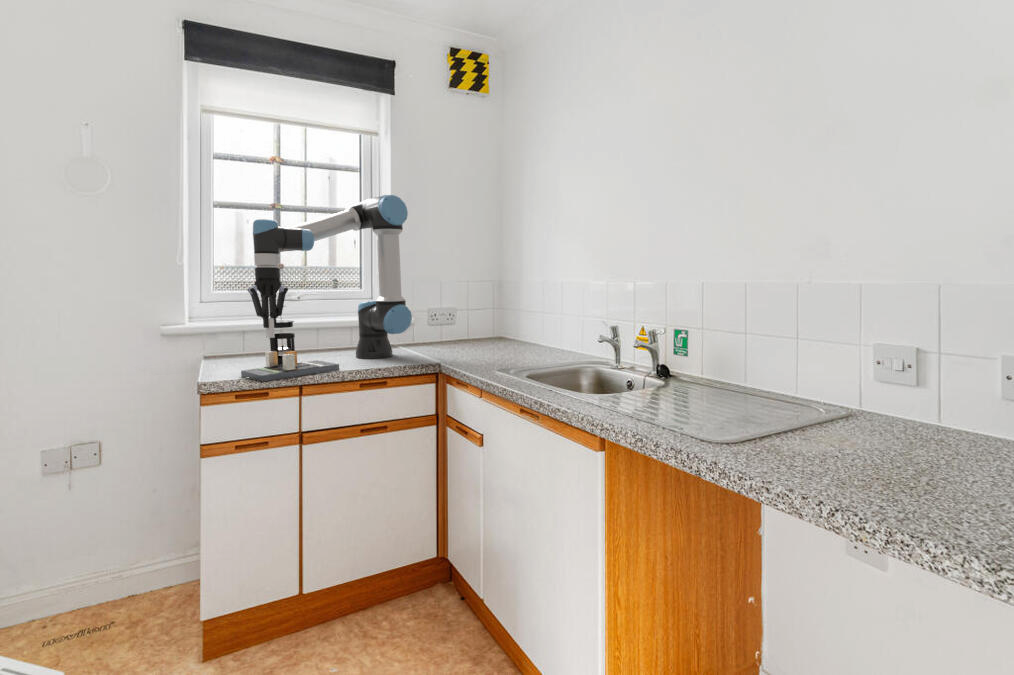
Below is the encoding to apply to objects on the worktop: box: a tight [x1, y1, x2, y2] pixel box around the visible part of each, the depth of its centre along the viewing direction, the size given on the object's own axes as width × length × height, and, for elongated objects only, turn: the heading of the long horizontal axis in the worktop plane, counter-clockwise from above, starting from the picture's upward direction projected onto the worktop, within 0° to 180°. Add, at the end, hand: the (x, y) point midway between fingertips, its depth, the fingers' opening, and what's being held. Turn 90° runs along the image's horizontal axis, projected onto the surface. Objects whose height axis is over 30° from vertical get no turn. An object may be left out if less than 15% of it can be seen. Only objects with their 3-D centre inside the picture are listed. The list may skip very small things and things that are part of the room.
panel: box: [240, 350, 340, 383], centre depth 184 cm, size 28×15×8 cm, turn 140°
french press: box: [268, 304, 296, 365], centre depth 199 cm, size 12×9×23 cm
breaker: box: [284, 350, 298, 366], centre depth 184 cm, size 3×2×5 cm
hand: (270, 337), depth 178 cm, fingers closed
